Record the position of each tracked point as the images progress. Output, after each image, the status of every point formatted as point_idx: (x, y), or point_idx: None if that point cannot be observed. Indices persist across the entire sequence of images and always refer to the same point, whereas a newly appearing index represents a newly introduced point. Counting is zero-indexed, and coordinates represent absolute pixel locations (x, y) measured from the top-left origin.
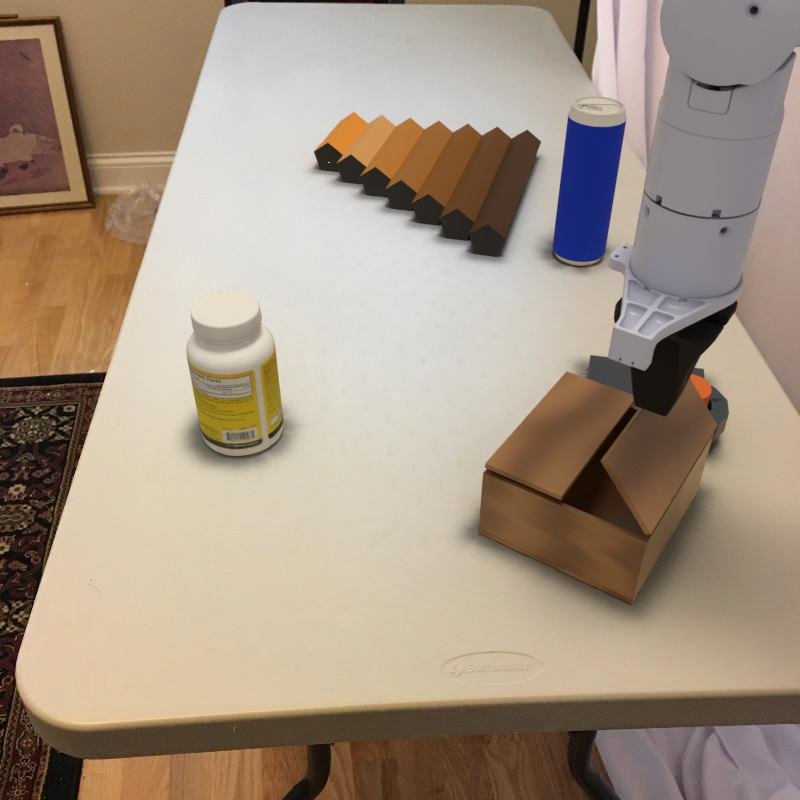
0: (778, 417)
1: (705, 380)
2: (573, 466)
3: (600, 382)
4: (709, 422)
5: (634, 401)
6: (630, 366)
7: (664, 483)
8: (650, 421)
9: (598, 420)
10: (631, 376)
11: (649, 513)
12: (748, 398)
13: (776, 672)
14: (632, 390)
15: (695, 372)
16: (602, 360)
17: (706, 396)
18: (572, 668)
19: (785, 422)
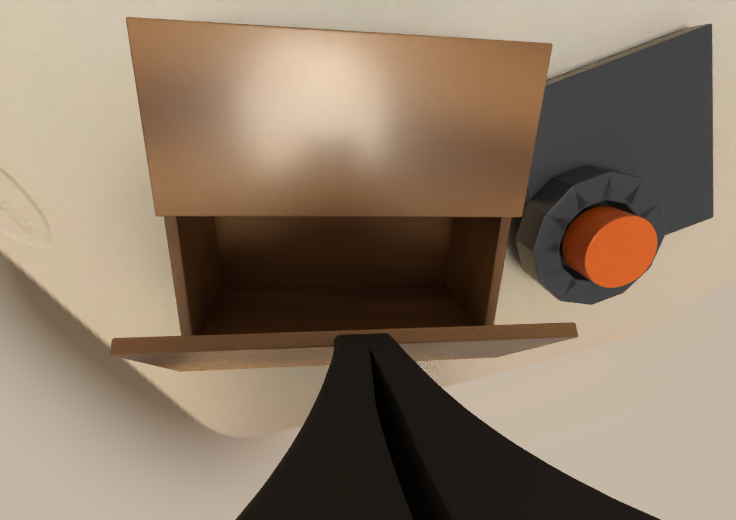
0: (638, 319)
1: (645, 269)
2: (249, 199)
3: (631, 77)
4: (487, 356)
5: (335, 340)
6: (317, 402)
7: (279, 364)
8: None
9: (411, 183)
10: (328, 376)
11: (198, 368)
12: (668, 278)
13: (231, 431)
14: (339, 348)
15: (700, 209)
16: (698, 53)
17: (601, 285)
18: (73, 273)
19: (630, 329)
